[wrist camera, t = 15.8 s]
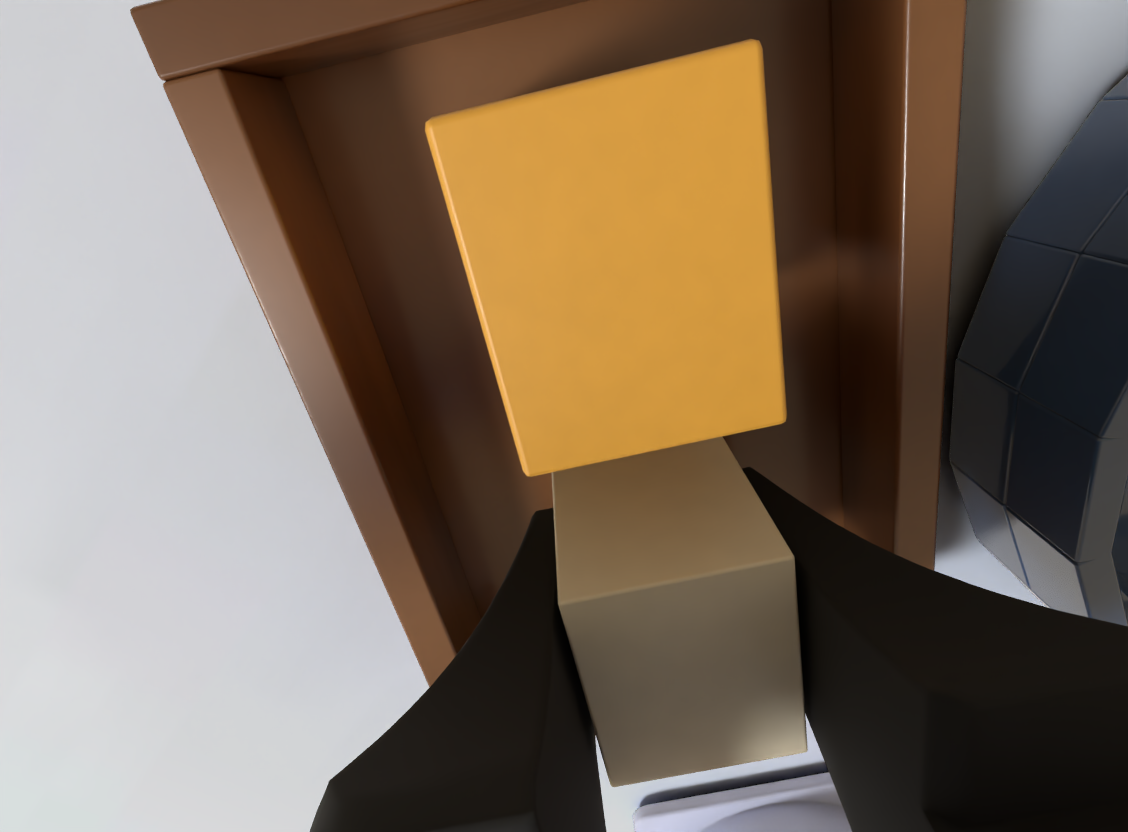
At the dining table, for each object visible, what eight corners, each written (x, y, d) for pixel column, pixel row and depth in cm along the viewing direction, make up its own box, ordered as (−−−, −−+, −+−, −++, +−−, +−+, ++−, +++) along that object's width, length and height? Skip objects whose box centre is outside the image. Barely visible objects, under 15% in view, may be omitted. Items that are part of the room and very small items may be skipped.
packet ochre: (694, 311, 12) (790, 425, 7) (528, 348, 12) (524, 481, 7) (663, 72, 10) (764, 35, 6) (469, 120, 10) (419, 119, 6)
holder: (865, 583, 15) (930, 674, 13) (472, 660, 16) (461, 761, 13) (861, -126, 9) (982, -218, 7) (230, 36, 10) (126, 7, 7)
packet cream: (724, 560, 14) (809, 753, 10) (588, 587, 14) (611, 788, 10) (704, 405, 12) (796, 556, 8) (549, 438, 13) (557, 603, 8)
